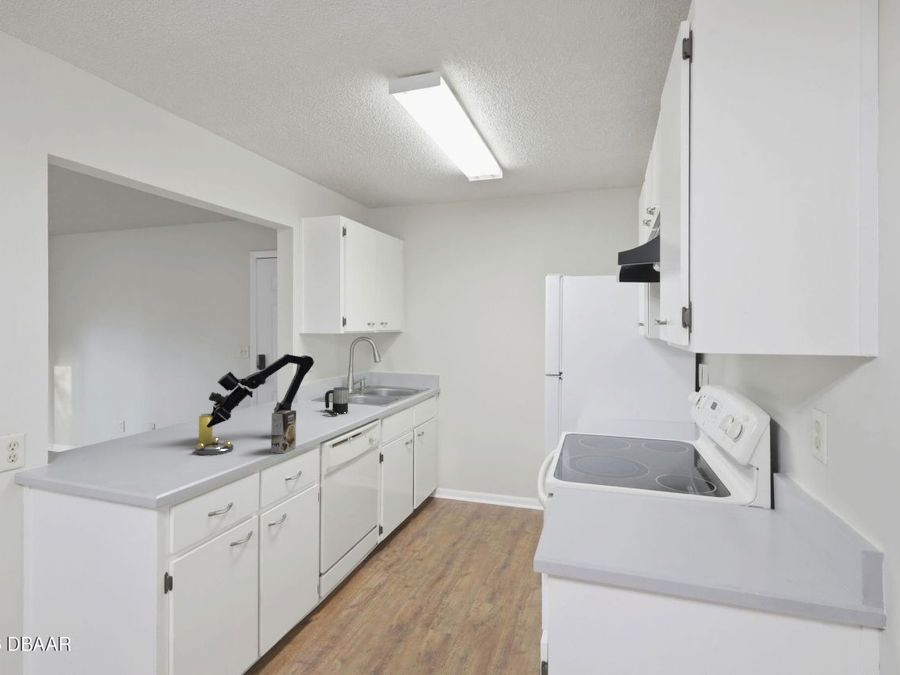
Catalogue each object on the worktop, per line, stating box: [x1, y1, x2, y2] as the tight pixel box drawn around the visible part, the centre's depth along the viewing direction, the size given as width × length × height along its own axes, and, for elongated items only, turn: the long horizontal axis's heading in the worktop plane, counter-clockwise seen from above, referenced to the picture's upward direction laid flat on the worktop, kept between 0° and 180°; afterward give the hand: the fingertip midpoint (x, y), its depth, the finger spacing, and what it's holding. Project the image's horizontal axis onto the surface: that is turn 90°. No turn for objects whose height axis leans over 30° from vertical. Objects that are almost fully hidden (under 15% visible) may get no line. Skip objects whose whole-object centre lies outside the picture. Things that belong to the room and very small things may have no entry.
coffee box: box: [270, 409, 297, 454], centre depth 197 cm, size 9×6×16 cm
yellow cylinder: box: [198, 413, 213, 445], centre depth 205 cm, size 5×5×13 cm
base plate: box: [194, 437, 234, 456], centre depth 194 cm, size 14×14×4 cm
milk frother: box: [324, 386, 350, 416], centre depth 277 cm, size 14×16×15 cm
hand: (206, 424), depth 205 cm, fingers open, 9 cm apart
